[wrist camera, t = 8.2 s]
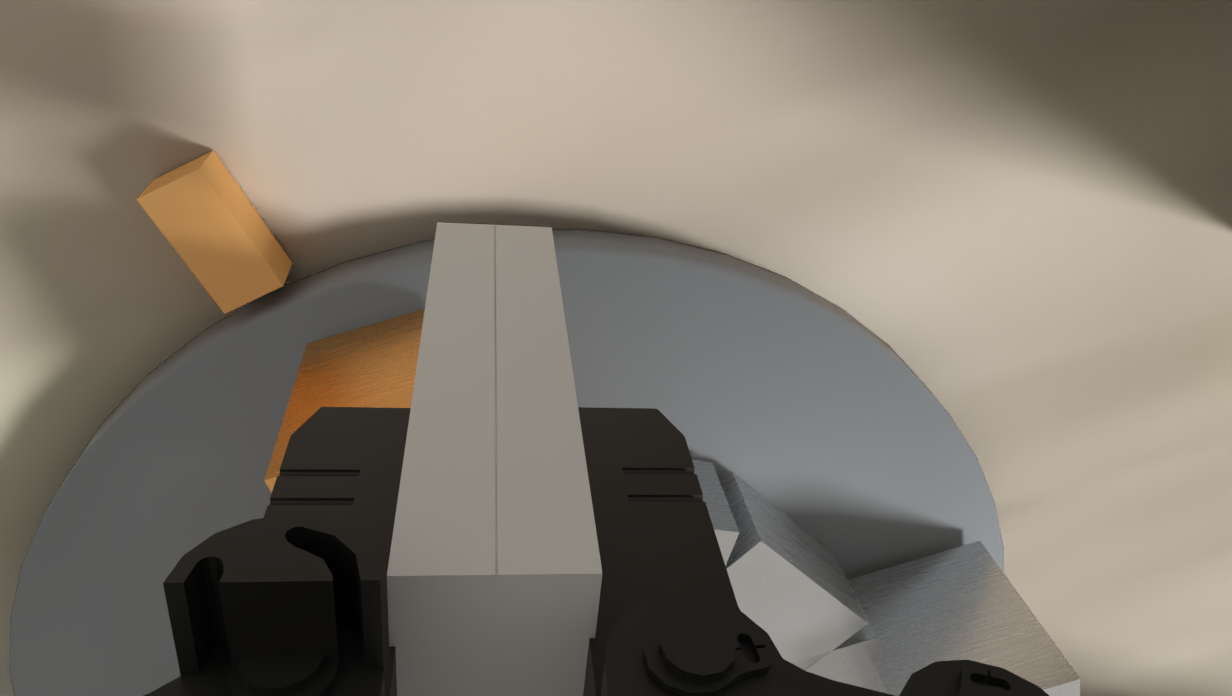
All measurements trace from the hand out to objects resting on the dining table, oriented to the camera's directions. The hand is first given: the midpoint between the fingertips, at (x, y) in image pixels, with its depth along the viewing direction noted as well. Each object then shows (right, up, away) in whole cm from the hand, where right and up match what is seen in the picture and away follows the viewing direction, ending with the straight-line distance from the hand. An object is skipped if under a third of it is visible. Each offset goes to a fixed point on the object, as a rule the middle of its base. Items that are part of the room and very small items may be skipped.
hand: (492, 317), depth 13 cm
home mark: (-5, +2, +4) cm, 7 cm away
